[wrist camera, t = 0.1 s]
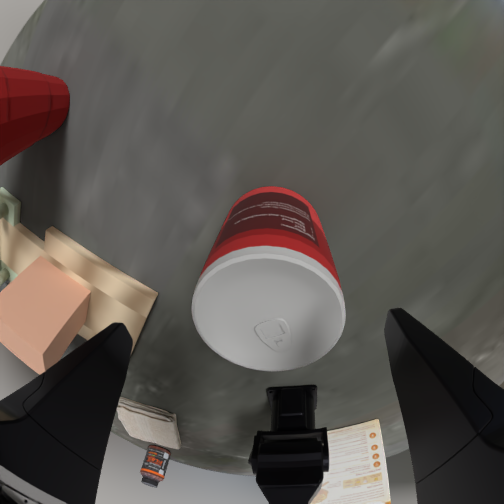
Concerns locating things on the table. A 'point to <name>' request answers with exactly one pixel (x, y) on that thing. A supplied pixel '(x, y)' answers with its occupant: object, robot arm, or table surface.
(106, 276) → the trap board
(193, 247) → the table surface
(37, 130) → the plastic cup
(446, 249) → the table surface
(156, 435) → the washcloth
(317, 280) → the canned food
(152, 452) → the supplement bottle
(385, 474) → the coffeecake box
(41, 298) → the block
